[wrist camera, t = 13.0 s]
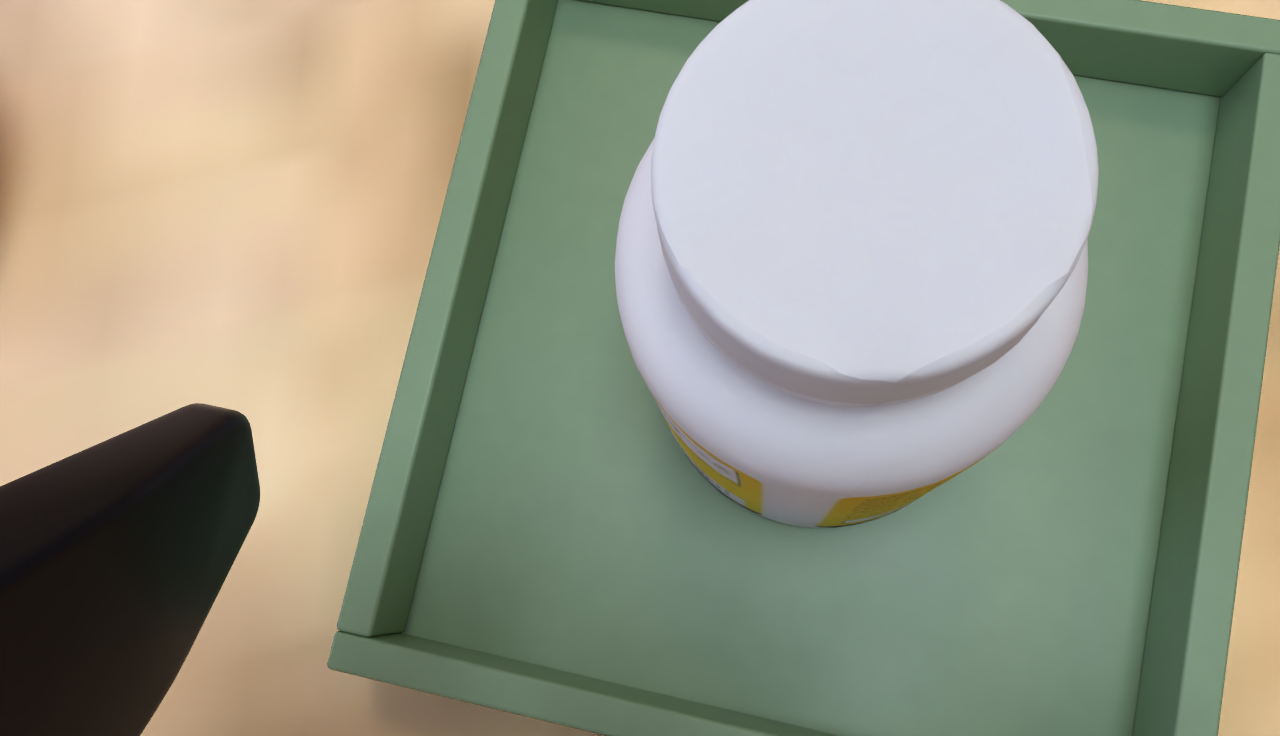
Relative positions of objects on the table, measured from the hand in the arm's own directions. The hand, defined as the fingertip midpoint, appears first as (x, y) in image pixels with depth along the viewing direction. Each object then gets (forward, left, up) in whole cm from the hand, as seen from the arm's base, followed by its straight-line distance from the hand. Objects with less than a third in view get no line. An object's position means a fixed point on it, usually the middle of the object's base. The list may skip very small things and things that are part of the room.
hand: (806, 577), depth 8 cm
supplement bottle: (+3, +2, -11) cm, 12 cm away
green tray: (+3, +2, -11) cm, 12 cm away
